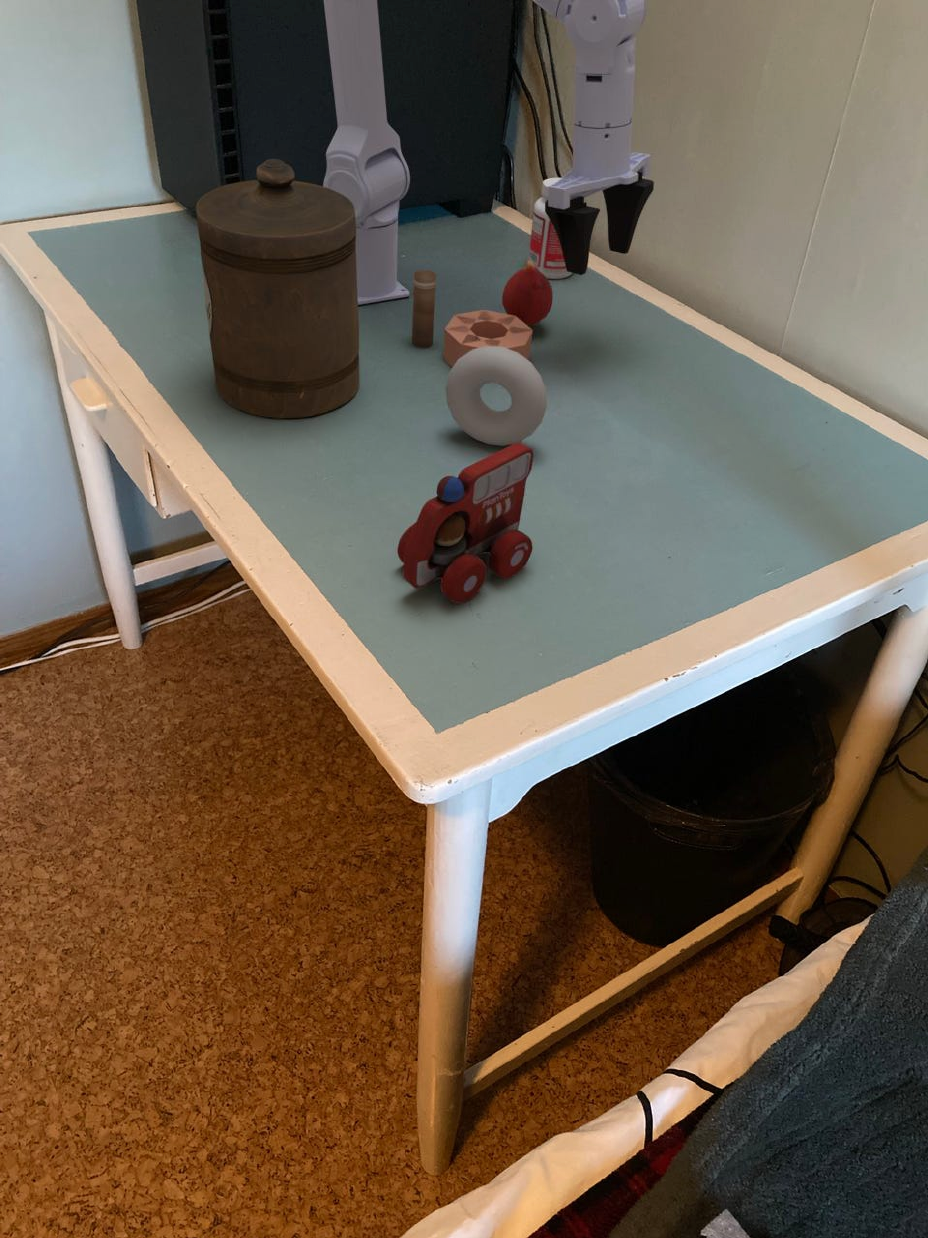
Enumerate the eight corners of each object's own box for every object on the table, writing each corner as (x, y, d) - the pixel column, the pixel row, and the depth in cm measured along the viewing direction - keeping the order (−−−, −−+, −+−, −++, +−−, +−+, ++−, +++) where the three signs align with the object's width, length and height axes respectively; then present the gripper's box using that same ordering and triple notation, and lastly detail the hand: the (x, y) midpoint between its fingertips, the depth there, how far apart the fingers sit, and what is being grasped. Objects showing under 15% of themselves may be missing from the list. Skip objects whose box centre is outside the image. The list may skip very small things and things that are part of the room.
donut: (544, 444, 96) (557, 352, 89) (534, 462, 93) (547, 368, 86) (449, 421, 97) (455, 329, 91) (437, 438, 95) (443, 344, 88)
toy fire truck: (378, 577, 79) (379, 471, 72) (487, 522, 86) (498, 420, 79) (433, 622, 76) (440, 516, 69) (543, 561, 82) (560, 458, 75)
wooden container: (273, 336, 108) (258, 125, 93) (385, 374, 104) (388, 159, 89) (185, 391, 98) (152, 165, 83) (305, 436, 94) (293, 205, 79)
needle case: (407, 339, 110) (409, 271, 104) (426, 336, 111) (430, 268, 105) (417, 349, 108) (419, 280, 103) (437, 345, 109) (440, 277, 104)
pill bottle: (581, 269, 128) (595, 182, 120) (560, 284, 124) (572, 196, 116) (540, 257, 130) (551, 171, 122) (518, 271, 126) (528, 183, 118)
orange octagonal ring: (432, 347, 109) (433, 318, 106) (500, 334, 112) (503, 305, 110) (470, 385, 103) (473, 355, 101) (541, 369, 107) (545, 340, 104)
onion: (549, 319, 116) (558, 254, 111) (547, 341, 112) (556, 274, 106) (501, 314, 116) (507, 248, 111) (497, 336, 112) (504, 268, 107)
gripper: (590, 143, 88) (586, 290, 97) (679, 110, 96) (668, 249, 105) (531, 133, 92) (532, 275, 101) (620, 103, 100) (614, 237, 109)
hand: (598, 261), depth 103 cm, fingers open, 7 cm apart
